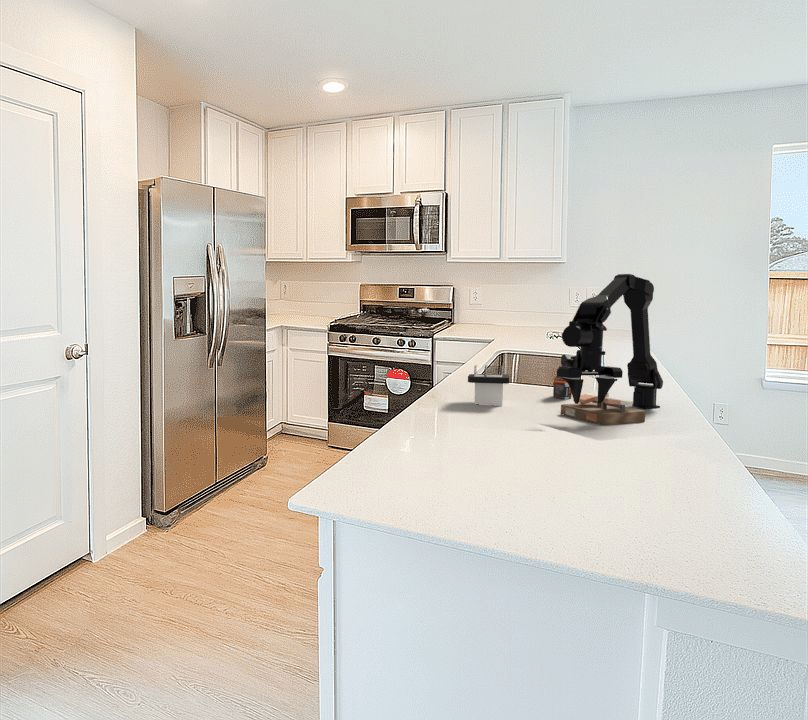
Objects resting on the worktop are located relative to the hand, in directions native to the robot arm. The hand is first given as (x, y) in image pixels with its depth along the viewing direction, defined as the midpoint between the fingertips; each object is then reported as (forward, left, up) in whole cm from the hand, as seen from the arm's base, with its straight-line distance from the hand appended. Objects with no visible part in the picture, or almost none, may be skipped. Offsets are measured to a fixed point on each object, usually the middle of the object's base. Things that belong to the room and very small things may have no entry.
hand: (588, 403), depth 163 cm
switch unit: (-9, -5, -6) cm, 12 cm away
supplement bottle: (-15, -30, -6) cm, 34 cm away
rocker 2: (-9, 0, -1) cm, 9 cm away
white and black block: (+11, -33, -6) cm, 36 cm away
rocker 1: (-9, -9, -1) cm, 13 cm away
